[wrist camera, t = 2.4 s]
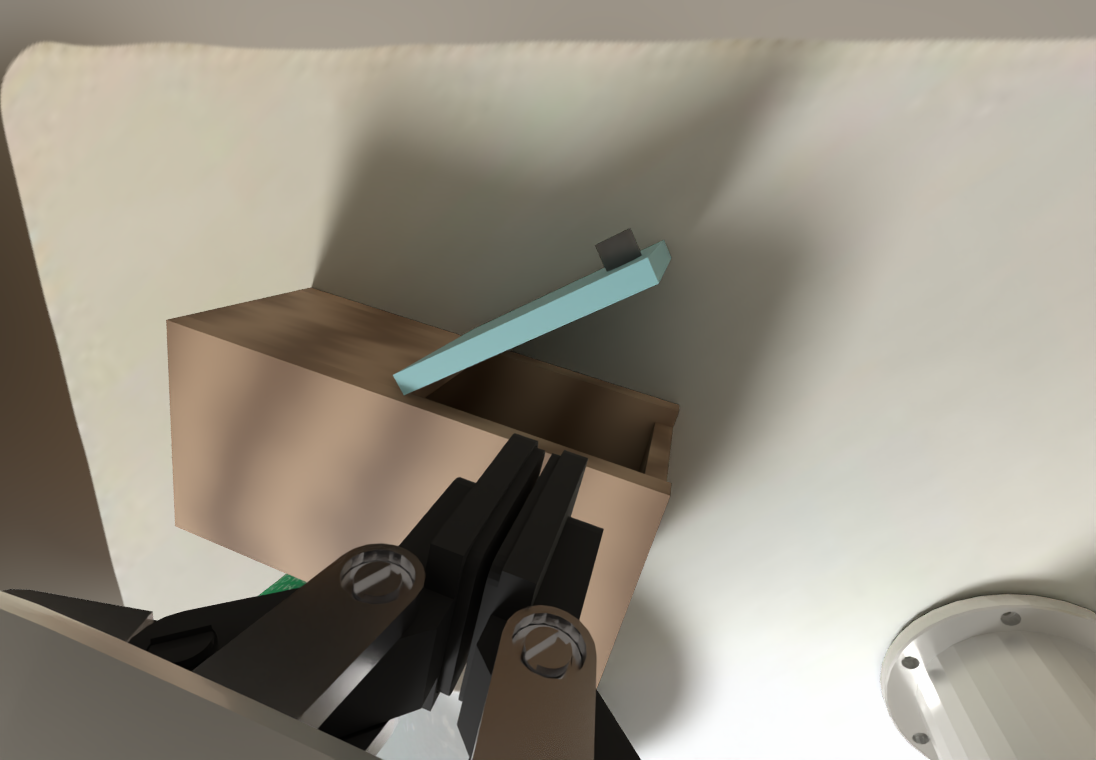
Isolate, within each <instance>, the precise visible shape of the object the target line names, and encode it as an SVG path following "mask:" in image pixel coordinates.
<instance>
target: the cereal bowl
mask: <svg viewBox="0 0 1096 760" xmlns="http://www.w3.org/2000/svg"><path fill="white" fill-rule="evenodd" d="M466 664H467V663H466ZM465 668H466V665H465V667H464V669H463V671H462V673H461V676H460V678H459V680H458V682H457V684H456V686H455V688H454V690H453V692H452V693H451V695H450V696H448V695H445V694H443V693H441V692H440V694H439V696H438V698H437V700H436V702H435V704H434V706H433V708H432V709H431V711H428V710H425V709H423V708H421V709H419V710H416V711H413V712H411V713H408V714H405V715H402V716H400V718H399V723H398V725H397V726H396V728H395V730H394V732H393V734H392V735H391V736H390V738H389V739H388V740H387V742H386V743H385V744H384V746H383V747H382V748H381V750H380V751H379V752H378V754H377V755H376V756H377V757H379V758H381V759H383V760H468V759H469V755H468V753H467V750H466V748H465V745H464V742H463V740H462V737H461V735H460V732H459V729H458V727H457V721H458V717H459V713H460V709H461V705H462V702H461V701H459V700H458V698H459V693H460V689H461V685H462V681H463V676H464V672H465Z"/></svg>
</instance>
